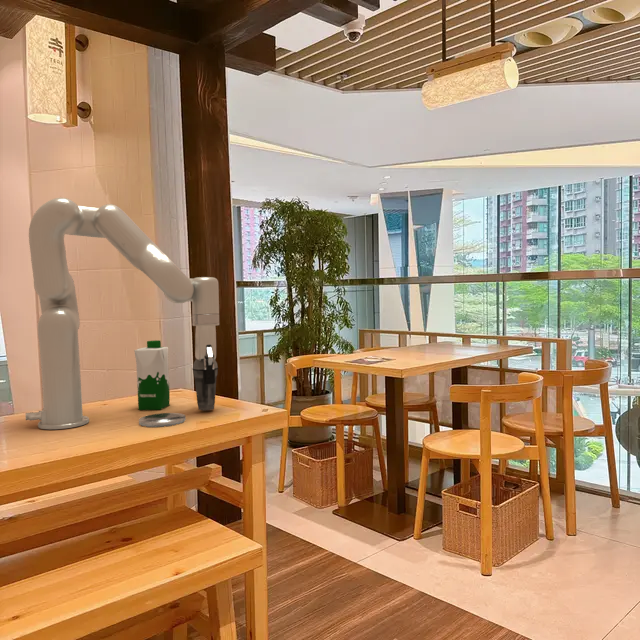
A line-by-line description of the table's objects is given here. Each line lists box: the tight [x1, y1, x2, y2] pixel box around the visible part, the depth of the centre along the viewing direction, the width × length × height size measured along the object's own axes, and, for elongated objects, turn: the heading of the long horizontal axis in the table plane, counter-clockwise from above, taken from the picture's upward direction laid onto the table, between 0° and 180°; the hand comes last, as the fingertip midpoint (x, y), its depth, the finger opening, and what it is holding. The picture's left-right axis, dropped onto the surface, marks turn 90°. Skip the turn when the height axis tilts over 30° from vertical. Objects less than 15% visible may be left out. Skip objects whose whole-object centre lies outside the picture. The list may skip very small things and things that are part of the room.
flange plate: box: [138, 412, 187, 428], centre depth 159 cm, size 12×12×1 cm
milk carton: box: [133, 339, 171, 411], centre depth 179 cm, size 9×9×20 cm
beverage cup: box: [192, 350, 219, 411], centre depth 171 cm, size 7×7×20 cm
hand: (207, 381), depth 171 cm, fingers closed on beverage cup, 7 cm apart
